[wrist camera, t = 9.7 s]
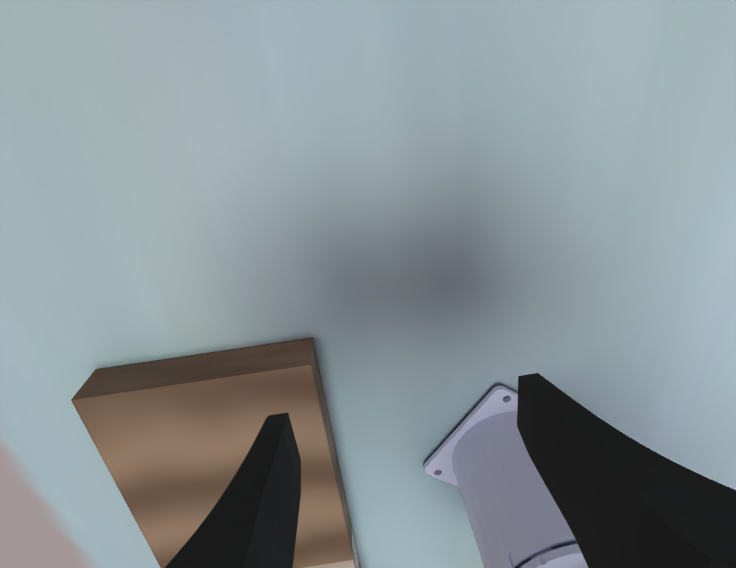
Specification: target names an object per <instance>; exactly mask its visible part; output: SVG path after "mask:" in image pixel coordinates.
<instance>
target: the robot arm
mask: <svg viewBox="0 0 736 568" xmlns="http://www.w3.org/2000/svg"><path fill="white" fill-rule="evenodd" d="M505 396H508V397H506V398H503V397H505ZM436 470H437V471H436ZM424 471H425V473H426V474H428V475H430V476H433V477H435V478H437V479H440V480H442V481H445V482H447V483H449V484H452V485H454V486H456V487H459V489H460V492H461V495H462V498H463V501H464V505H465V508H466V511H467V514H468V517H469V520H470V523H471V527H472V530H473V533H474V536H475V539H476V542H477V546H478V549H479V552H480V555H481V558H482V561H483V565H484V568H736V490H734V489H731V488H729V487H727V486H724V485H722V484H720V483H717V482H715V481H713V480H710V479H708V478H706V477H704V476H702V475H700V474H698V473H695V472H693V471H691V470H689V469H687V468H685V467H683V466H681V465H679V464H677V463H675V462H673V461H671V460H669V459H667V458H665V457H663V456H661V455H660V454H658V453H656V452H654V451H652V450H650V449H649V448H647V447H645V446H643V445H641V444H640V443H638V442H636V441H635V440H633V439H631V438H630V437H628V436H626V435H625V434H623V433H622V432H620V431H618V430H617V429H615V428H614V427H612V426H611V425H609V424H607V423H606V422H604V421H603V420H601V419H600V418H598V417H597V416H596V415H594V414H593V413H591V412H590V411H588V410H587V409H586V408H584V407H583V406H581V405H580V404H579V403H577V402H576V401H574V400H573V399H572V398H570V397H569V396H568V395H566V394H565V393H564V392H562V391H561V390H560V389H558V388H557V387H556V386H554V385H553V384H552V383H550V382H549V381H548V380H546V379H545V378H544V377H542V376H541V375H540V374H538V373H536V374H530V375H523V376H519V379H518V394H517V393H516V392H514V391H512V390H510V389H508V388H506V387H504V386H496V387H494V388H493V389H492V390H491V391H490V392H489V393H488V394H487V396H486V397H485V398H484V399H483V400H482V401H481V402H480V403H479V404H478V405H477V406H476V408H475V409H474V410H473V411H472V412H471V413H470V414H469V415H468V416H467V417H466V419H465V420H464V421H463V422H462V423H461V424H460V425H459V426H458V427H457V428H456V430H455V431H454V432H453V433H452V434H451V435H450V436H449V437H448V438H447V439H446V441H445V442H444V443H443V444H442V445H441V446H440V447H439V448H438V449H437V450H436V451H435V453H434V454H433V455H432V456H431V457H430V458H429V459H428V460H427V461H426V462H425V464H424ZM300 498H301V458H300V454H299V451H298V447H297V443H296V440H295V436H294V432H293V429H292V425H291V421H290V417H289V414H288V412H287V413H281V414H274V415H268V417H267V418H266V419H265V421H264V423H263V425H262V427H261V429H260V431H259V433H258V435H257V437H256V439H255V441H254V442H253V444H252V446H251V448H250V450H249V452H248V453H247V455H246V457H245V459H244V460H243V462H242V464H241V465H240V467H239V469H238V471H237V472H236V474H235V475H234V477H233V479H232V480H231V482H230V483H229V485H228V486H227V488H226V489H225V491H224V492H223V494H222V496H221V497H220V499H219V500H218V502H217V503H216V504H215V506H214V507H213V509H212V510H211V511H210V513H209V514H208V516H207V517H206V518H205V520H204V521H203V522H202V523H201V525H200V526H199V527H198V529H197V530H196V531H195V533H194V534H193V535H192V536H191V537H190V539H189V540H188V541H187V542H186V543H185V545H184V546H183V547H182V548H181V549H180V551H179V552H178V553H177V554H176V555H175V556H174V558H173V559H172V560H171V561H170V562H169V563H168V564H167V565H166V567H165V568H293V560H294V551H295V542H296V534H297V525H298V516H299V507H300Z"/></svg>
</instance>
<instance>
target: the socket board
mask: <svg viewBox="0 0 736 568" xmlns="http://www.w3.org/2000/svg"><path fill="white" fill-rule="evenodd" d="M71 401H72V403H73V405H74V406H75V408H76V410H77V412H78V414H79V416H80V418H81V419H82V421H83V423H84V425H85V427H86V429H87V431H88V433H89V434H90V436H91V438H92V440H93V442H94V444H95V446H96V447H97V449H98V451H99V453H100V455H101V457H102V459H103V461H104V462H105V464H106V466H107V468H108V470H109V472H110V474H111V476H112V477H113V479H114V481H115V483H116V485H117V487H118V489H119V490H120V492H121V494H122V496H123V498H124V500H125V502H126V504H127V505H128V507H129V509H130V511H131V513H132V515H133V517H134V518H135V520H136V522H137V524H138V526H139V528H140V530H141V532H142V533H143V535H144V537H145V539H146V541H147V543H148V545H149V546H150V548H151V550H152V552H153V554H154V556H155V558H156V560H157V561H158V563H159V565H160V567H161V568H165V567H166V565H167V564H168V563H169V562H170V561H171V560H172V559H173V558H174V556H175V555H176V554H177V553H178V552H179V551H180V549H181V548H182V547H183V546H184V545H185V543H186V542H187V541H188V540H189V539H190V537H191V536H192V535H193V534H194V533H195V531H196V530H197V529H198V527H199V526H200V525H201V523H202V522H203V521H204V520H205V518H206V517H207V516H208V514H209V513H210V511H211V510H212V509H213V507H214V506H215V504H216V503H217V502H218V500H219V499H220V497H221V496H222V494H223V492H224V491H225V489H226V488H227V486H228V485H229V483H230V482H231V480H232V479H233V477H234V475H235V474H236V472H237V471H238V469H239V467H240V465H241V464H242V462H243V460H244V459H245V457H246V455H247V453H248V452H249V450H250V448H251V446H252V444H253V442H254V441H255V439H256V437H257V435H258V433H259V431H260V429H261V427H262V425H263V423H264V421H265V419H266V418H267V417H268V415H274V414H281V413H287V412H288V414H289V417H290V421H291V425H292V429H293V432H294V436H295V440H296V443H297V447H298V451H299V454H300V458H301V498H300V507H299V516H298V525H297V534H296V542H295V551H294V560H293V568H360V564H359V559H358V554H357V549H356V545H355V540H354V535H353V530H352V525H351V521H350V516H349V511H348V506H347V501H346V497H345V492H344V487H343V482H342V477H341V473H340V468H339V463H338V458H337V453H336V449H335V444H334V439H333V434H332V429H331V425H330V420H329V415H328V410H327V405H326V400H325V396H324V391H323V386H322V381H321V376H320V372H319V367H318V362H317V357H316V352H315V348H314V343H313V338H309V339H302V340H295V341H288V342H282V343H275V344H268V345H261V346H254V347H247V348H241V349H234V350H227V351H220V352H213V353H206V354H199V355H193V356H186V357H179V358H172V359H165V360H158V361H152V362H145V363H138V364H131V365H124V366H117V367H111V368H104V369H97V370H95V371H94V372H93V373H92V375H91V376H90V377H89V378H88V380H87V381H86V382H85V383H84V385H83V386H82V387H81V388H80V390H79V391H78V392H77V393H76V395H75V396H74V397H73V398H72V400H71Z"/></svg>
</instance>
